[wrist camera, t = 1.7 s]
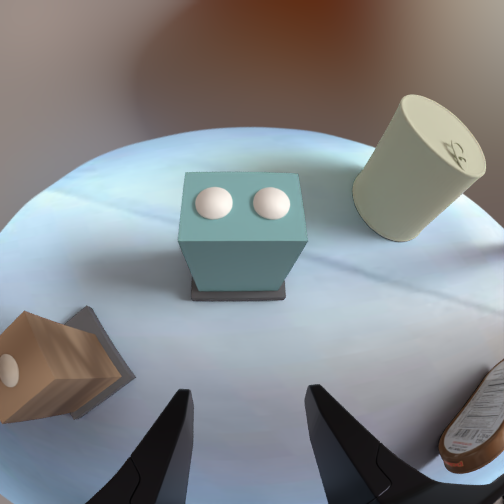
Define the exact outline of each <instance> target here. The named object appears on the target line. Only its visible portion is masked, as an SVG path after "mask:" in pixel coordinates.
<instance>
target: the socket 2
mask: <svg viewBox="0 0 504 504" xmlns="http://www.w3.org/2000/svg"><path fill="white" fill-rule="evenodd" d="M285 297H286V293H285V280H284V282H283V283H282V285H281V286H280V288H279V290H278V291H199V290H198V288H197V286H196V283H195V281H194V279H193V276H192V290H191V298H192V300H193V301H264V300H284V299H285Z"/></svg>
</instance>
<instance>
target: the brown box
mask: <svg viewBox="0 0 504 504" xmlns="http://www.w3.org/2000/svg"><path fill="white" fill-rule="evenodd" d="M121 377H122V376H121V374H120V373H119V372H118V370H117V369H116V367H115V366H114V364H113V363H112V361H111V360H110V358H109V356H108V355H107V353H106V352H105V350H104V348H103V347H102V345H101V344H100V342H99V340H98V339H97V337H96V335H95V334H92V333H88V332H85V331H82V330H78V329H75V328H72V327H69V326H66V325H63V324H60V323H57V322H54V321H51V320H48V319H45V318H42V317H40V316H37V315H34V314H32V313H29V312H26V311H24V312H23V313H22V314H21V315H20V316H19V317H18V318H17V319H16V320H15V321H14V322H13V323H12V324H11V325H10V326H9V327H8V328H7V329H6V330H5V331H4V332H3V333H2V334H1V335H0V421H1V423H2V424H5V423H13V422H21V421H28V420H34V419H40V418H46V417H52V416H57V415H62V414H67V413H72V412H75V411H76V410H78V409H79V408H80V407H82V406H83V405H84V404H86V403H87V402H88V401H90V400H91V399H93V398H94V397H95V396H97V395H98V394H99V393H101V392H102V391H103V390H105V389H106V388H107V387H109V386H110V385H111V384H113V383H114V382H115V381H117V380H118V379H119V378H121Z"/></svg>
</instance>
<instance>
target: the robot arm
mask: <svg viewBox="0 0 504 504" xmlns="http://www.w3.org/2000/svg"><path fill="white" fill-rule="evenodd" d="M305 409H306V416H307V423H308V429H309V436H310V441H311V444H312V448H313V451H314V455H315V458H316V462H317V465H318V469H319V472H320V476H321V479H322V483H323V486H324V490H325V493H326V497H327V500H328V504H504V474H502V475H501V476H500V477H498V478H497V479H496V480H494V481H493V482H492V483H490V484H487V485H464V484H451V483H442V482H438V481H435V480H432V479H430V478H428V477H427V476H425V475H424V474H422V473H420V472H419V471H417V470H416V469H414V468H413V467H411V466H410V465H408V464H407V463H405V462H404V461H403V460H401V459H400V458H398V457H397V456H396V455H395V454H393V453H392V452H391V451H390V450H389V449H387V448H386V447H385V446H384V445H383V444H382V443H380V441H379V440H377V439H376V438H375V437H374V436H373V435H372V434H371V433H370V432H369V431H368V430H367V429H366V428H365V427H364V426H362V425H361V424H360V423H359V422H358V421H357V420H356V419H355V418H354V417H353V416H352V415H351V414H350V413H349V412H348V411H347V410H346V409H345V408H344V407H343V406H342V405H341V404H339V403H338V402H337V401H336V400H335V399H334V398H333V397H332V396H331V395H330V394H329V393H328V392H327V391H326V390H325V389H324V388H323V387H322V386H321V385H320V384H314V385H309V386H308V388H307V392H306V396H305ZM193 421H194V404H193V399H192V394H191V391H190V390H189V389H179V390H178V391H177V392H176V394H175V395H174V396H173V398H172V399H171V401H170V402H169V403H168V405H167V406H166V408H165V409H164V410H163V412H162V413H161V414H160V416H159V417H158V419H157V420H156V421H155V423H154V424H153V425H152V427H151V428H150V430H149V431H148V432H147V434H146V435H145V436H144V438H143V439H142V441H141V442H140V443H139V445H138V446H137V447H136V449H135V450H134V451H133V453H132V454H131V457H129V458H128V459H127V461H126V462H125V463H124V465H123V466H122V467H121V468H120V470H119V471H118V472H117V473H116V474H115V475H114V476H113V478H112V479H111V480H110V481H109V482H108V483H107V484H106V485H105V486H104V487H103V488H102V489H101V490H99V491H98V492H97V493H96V494H95V495H94V496H93V497H92V498H91V499H90V500H89V501H88V502H87V503H85V504H185V501H186V493H187V485H188V478H189V470H190V463H191V456H192V449H193Z"/></svg>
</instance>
